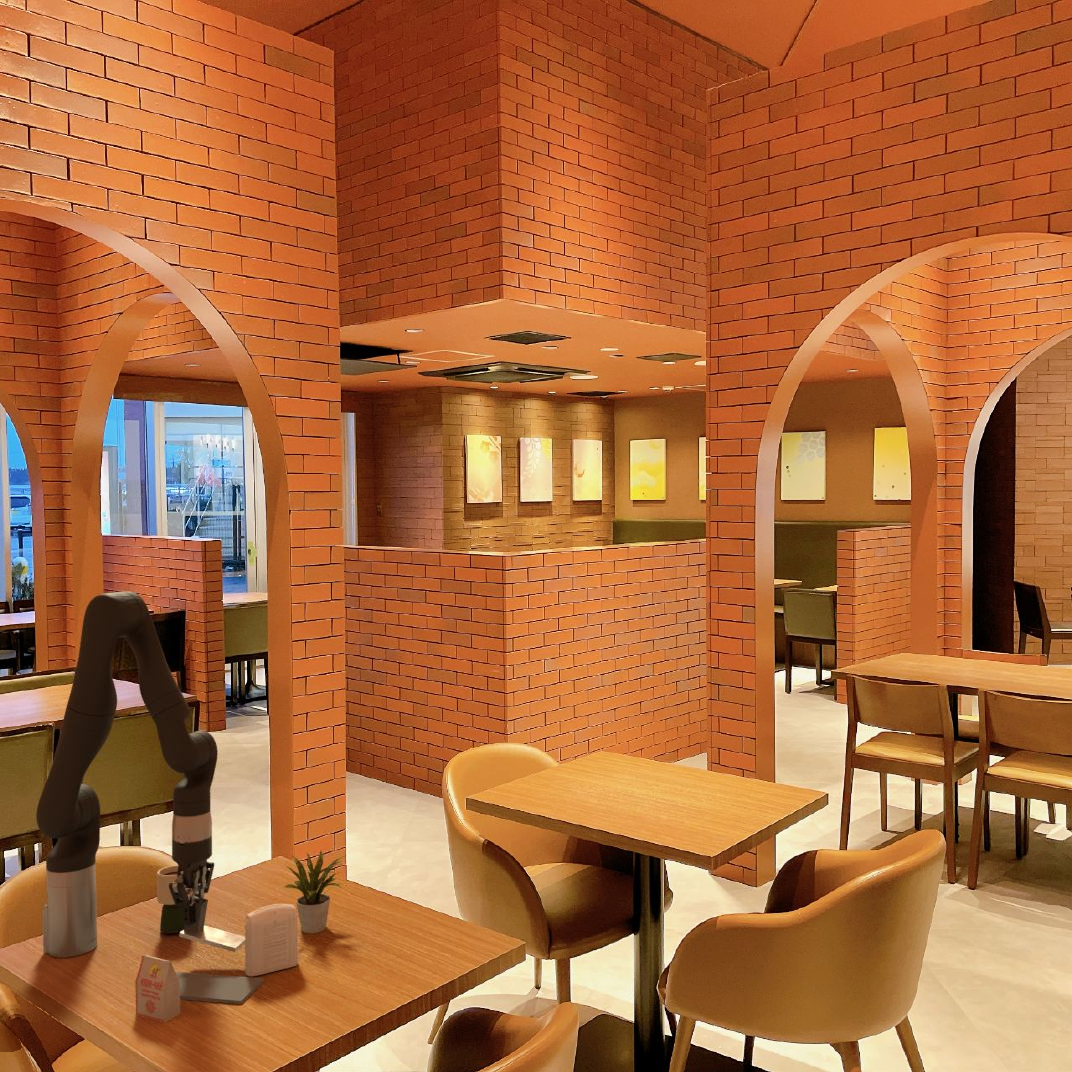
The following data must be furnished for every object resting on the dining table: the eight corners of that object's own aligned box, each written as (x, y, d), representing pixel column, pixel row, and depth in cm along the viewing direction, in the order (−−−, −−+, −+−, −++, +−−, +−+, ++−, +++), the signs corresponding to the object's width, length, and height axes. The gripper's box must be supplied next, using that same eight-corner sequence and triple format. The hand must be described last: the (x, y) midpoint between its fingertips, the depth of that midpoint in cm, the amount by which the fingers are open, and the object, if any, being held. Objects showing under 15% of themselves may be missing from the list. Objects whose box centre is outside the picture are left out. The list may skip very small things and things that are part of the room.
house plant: (351, 939, 210) (350, 861, 210) (283, 947, 206) (281, 868, 206) (347, 914, 224) (346, 840, 223) (283, 921, 220) (281, 846, 220)
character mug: (203, 932, 215) (202, 871, 215) (171, 942, 210) (170, 880, 209) (179, 919, 222) (178, 860, 222) (148, 928, 217) (146, 868, 217)
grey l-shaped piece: (179, 936, 198) (184, 903, 197) (192, 926, 203) (197, 893, 202) (234, 952, 195) (240, 918, 195) (247, 941, 200) (252, 908, 200)
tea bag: (152, 1005, 182) (151, 950, 182) (179, 1013, 179) (178, 957, 179) (136, 1014, 179) (134, 958, 179) (163, 1022, 176) (162, 965, 176)
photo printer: (293, 958, 201) (292, 896, 201) (301, 966, 198) (300, 903, 198) (242, 971, 196) (241, 908, 195) (249, 980, 192) (248, 915, 192)
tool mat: (150, 996, 186) (150, 993, 186) (177, 974, 195) (177, 971, 195) (241, 1004, 182) (241, 1000, 182) (263, 981, 191) (263, 978, 191)
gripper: (193, 822, 207) (193, 906, 207) (155, 844, 193) (155, 934, 194) (226, 825, 206) (227, 909, 206) (190, 846, 192) (191, 937, 192)
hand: (192, 921), depth 200 cm, fingers closed on grey l-shaped piece
